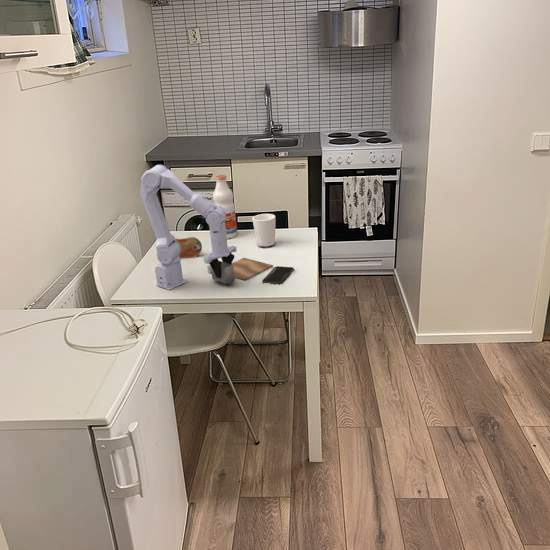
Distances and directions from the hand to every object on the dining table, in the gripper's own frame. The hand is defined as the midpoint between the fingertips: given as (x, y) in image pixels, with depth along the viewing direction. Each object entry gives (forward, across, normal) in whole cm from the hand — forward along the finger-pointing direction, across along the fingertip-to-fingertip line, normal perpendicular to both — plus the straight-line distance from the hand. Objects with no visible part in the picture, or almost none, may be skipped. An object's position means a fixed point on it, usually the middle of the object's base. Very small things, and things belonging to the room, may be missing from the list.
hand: (223, 275), depth 209 cm
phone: (+4, +16, -13) cm, 21 cm away
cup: (+3, +39, +14) cm, 42 cm away
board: (+3, +14, +3) cm, 15 cm away
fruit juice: (+3, +39, +38) cm, 55 cm away
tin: (+4, +11, +35) cm, 37 cm away
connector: (+2, 0, 0) cm, 2 cm away
